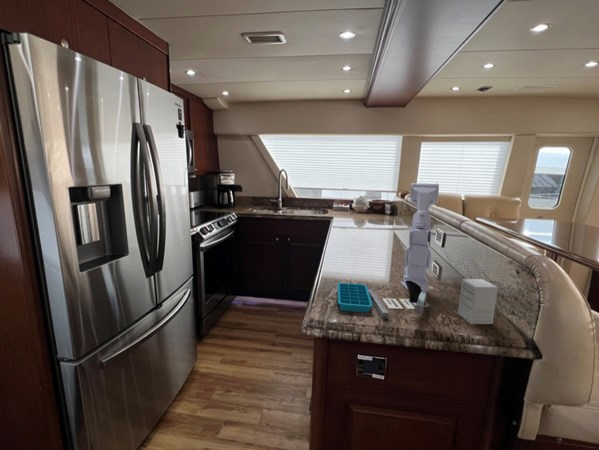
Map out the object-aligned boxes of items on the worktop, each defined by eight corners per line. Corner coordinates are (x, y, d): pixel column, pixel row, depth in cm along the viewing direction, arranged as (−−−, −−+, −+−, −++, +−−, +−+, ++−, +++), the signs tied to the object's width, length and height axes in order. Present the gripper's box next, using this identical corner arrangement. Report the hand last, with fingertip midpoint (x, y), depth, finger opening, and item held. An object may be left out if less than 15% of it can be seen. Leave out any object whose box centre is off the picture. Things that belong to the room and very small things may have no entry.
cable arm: (418, 300, 104) (419, 289, 103) (426, 302, 103) (427, 290, 102) (413, 319, 89) (414, 306, 89) (421, 321, 88) (423, 308, 87)
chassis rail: (366, 293, 111) (367, 288, 110) (371, 293, 111) (372, 288, 110) (382, 318, 91) (382, 312, 91) (388, 318, 91) (388, 312, 91)
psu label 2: (399, 299, 106) (399, 298, 106) (412, 299, 106) (412, 298, 106) (407, 309, 98) (407, 308, 98) (421, 309, 98) (421, 308, 98)
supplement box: (477, 313, 96) (482, 278, 94) (493, 324, 89) (499, 287, 87) (456, 313, 96) (461, 278, 94) (470, 324, 89) (475, 286, 87)
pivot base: (412, 301, 105) (412, 300, 104) (425, 301, 105) (425, 301, 105) (418, 307, 100) (418, 306, 100) (432, 307, 100) (432, 307, 100)
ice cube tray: (337, 312, 95) (338, 303, 95) (337, 289, 115) (337, 282, 114) (372, 315, 94) (373, 306, 93) (365, 291, 114) (366, 284, 113)
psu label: (382, 299, 106) (382, 298, 106) (395, 299, 106) (395, 298, 106) (388, 308, 98) (389, 307, 98) (403, 309, 98) (403, 308, 98)
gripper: (397, 257, 100) (394, 293, 103) (414, 271, 86) (410, 312, 88) (417, 258, 100) (413, 293, 103) (437, 271, 86) (432, 312, 88)
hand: (413, 302), depth 96 cm, fingers closed, pressing on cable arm
